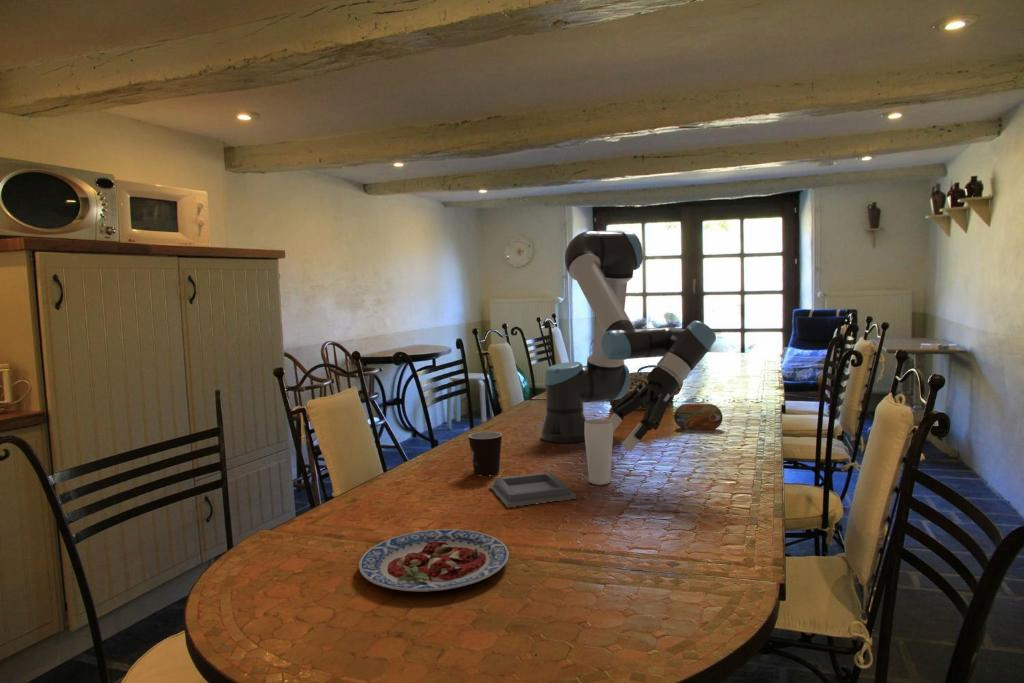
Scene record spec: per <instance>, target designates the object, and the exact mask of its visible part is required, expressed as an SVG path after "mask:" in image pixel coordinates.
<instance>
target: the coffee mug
mask: <svg viewBox="0 0 1024 683" xmlns="http://www.w3.org/2000/svg"><path fill="white" fill-rule="evenodd" d="M502 436H503V434H502V433H501V432H497V431H478V432H473V433H470V434H468V442H469V447H470V448H469V449H470V453H471V459H472V460H471V461H472V466H473V473H475V474H476V475H475V474H474V475H475V476H477V475H482V476H487V477H490V476H489V475H494V476H496V475H495V474H497V473H498V474H499V473H500V464H501V452H502V451H501V450H502V440H503V439H502V438H503V437H502ZM498 474H497V475H498ZM482 476H481V477H482Z"/></svg>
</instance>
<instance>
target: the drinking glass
mask: <svg viewBox="0 0 1024 683" xmlns="http://www.w3.org/2000/svg"><path fill="white" fill-rule="evenodd" d="M584 434H585V440H584V445H585V452H586V453H585V454H586V462H587V464H586V465H587V471H588V482H589V483H590V484H591V483H592V485H595V484H596V485H595V486H605V485H608V484H610V482H611V480H612V477H611V475H612V474H611V472H612V457H613V455H612V454H613V440H614V439H613V438H614V437H613V435H614V431H613V427H612V421H610V420H609V419H606V418H591V419H586V421H585V426H584ZM604 484H605V485H604Z"/></svg>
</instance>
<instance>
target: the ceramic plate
mask: <svg viewBox="0 0 1024 683" xmlns="http://www.w3.org/2000/svg"><path fill="white" fill-rule="evenodd" d="M509 554H510V553H509V549H508V548H507V546H506V544H504V543H503V541H501V540H499V539H498V538H496V537H494V536H491V535H489V534H486V533H482V532H480V531H473V530H467V529H466V530H465V529H456V528H455V529H444V528H443V529H442V528H440V529H439V528H438V529H428V530H419V531H415V532H410V533H405V534H401V535H398V536H394V537H391V538H389V539H386V540H384V541H382V542H379V543H378V544H376V545H375V546H372V547H371V548H370V549H368V550H367V551H366V552H365V553H364V554H363V555H362V557H361V558H360V560H359V562H358V563H359V564H358V568H359V572H360V574H361V575H362V576H363V577H364V578H365V579H366V580H367V581H369V582H371V583H372V584H374V585H376V586H380V587H383V588H387V589H390V590H397V591H403V592H435V591H447V590H452V589H457V588H461V587H464V586H465V587H466V586H468V585H472V584H473V585H474V584H475V583H478V582H480V581H482V580H486V579H487V578H489V577H491V576H492V575H494V574H496V573H498V572H499V571H500V570H502V568H503V567H504V566H505V565H506V564H507V562H508V560H509Z"/></svg>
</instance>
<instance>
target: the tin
mask: <svg viewBox="0 0 1024 683" xmlns="http://www.w3.org/2000/svg"><path fill="white" fill-rule="evenodd" d="M723 418H724V417H723V413H722V411H721V409H720V408H719V407H718V406H717V405H715V404H712V403H683V404H681V405H679V406H678V407H677V408H676V409H675V411H674V413H673V419H674V422H675V424H676V425H677V427H679V428H681V429H683V430H686V431H687V430H688V431H714V430H716V429H718V428H719V427H720V426H721V424H722V422H723Z"/></svg>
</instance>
